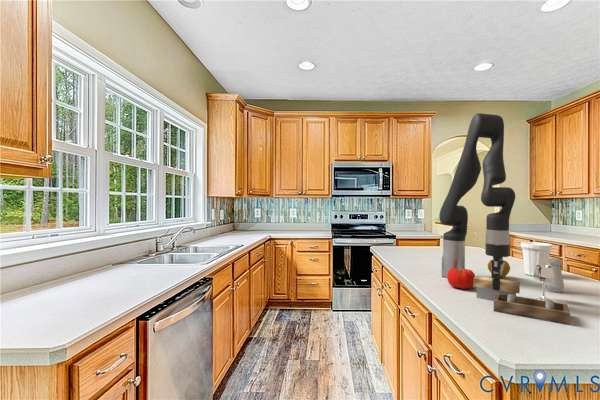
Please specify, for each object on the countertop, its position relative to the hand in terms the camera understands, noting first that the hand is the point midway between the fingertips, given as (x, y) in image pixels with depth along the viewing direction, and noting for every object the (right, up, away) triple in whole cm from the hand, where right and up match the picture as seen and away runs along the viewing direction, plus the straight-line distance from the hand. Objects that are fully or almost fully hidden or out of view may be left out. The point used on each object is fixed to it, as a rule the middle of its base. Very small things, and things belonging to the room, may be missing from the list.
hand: (497, 287), depth 117 cm
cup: (+42, -5, +39) cm, 57 cm away
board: (0, 0, 0) cm, 1 cm away
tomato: (-5, -5, +16) cm, 17 cm away
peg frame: (+2, -5, -14) cm, 15 cm away
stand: (0, -4, 0) cm, 4 cm away
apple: (+21, -5, +33) cm, 39 cm away
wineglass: (+18, -5, +1) cm, 18 cm away
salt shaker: (+30, -5, +12) cm, 33 cm away
